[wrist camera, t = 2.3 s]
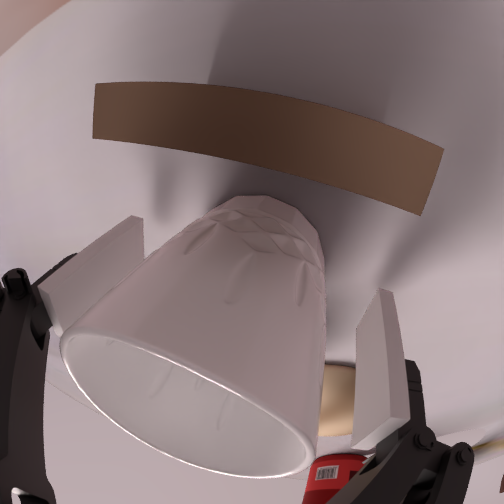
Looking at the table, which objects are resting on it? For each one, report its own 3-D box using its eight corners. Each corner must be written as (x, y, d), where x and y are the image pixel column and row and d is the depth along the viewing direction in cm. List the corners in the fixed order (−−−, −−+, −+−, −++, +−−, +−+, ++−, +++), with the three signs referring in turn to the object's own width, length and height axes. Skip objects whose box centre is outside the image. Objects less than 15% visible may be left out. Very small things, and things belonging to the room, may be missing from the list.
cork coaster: (249, 414, 24) (248, 419, 23) (276, 347, 18) (275, 354, 17) (354, 437, 22) (354, 442, 22) (417, 380, 16) (418, 386, 16)
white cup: (363, 224, 13) (385, 432, 4) (296, 330, 17) (254, 488, 8) (210, 157, 13) (32, 267, 5) (179, 278, 17) (82, 406, 9)
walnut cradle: (185, 331, 20) (138, 407, 14) (206, 85, 11) (95, 83, 5) (292, 366, 19) (269, 455, 13) (383, 124, 10) (443, 149, 4)
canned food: (303, 466, 29) (285, 534, 20) (325, 449, 25) (307, 534, 16) (354, 472, 28) (342, 538, 19) (383, 455, 24) (374, 535, 15)
